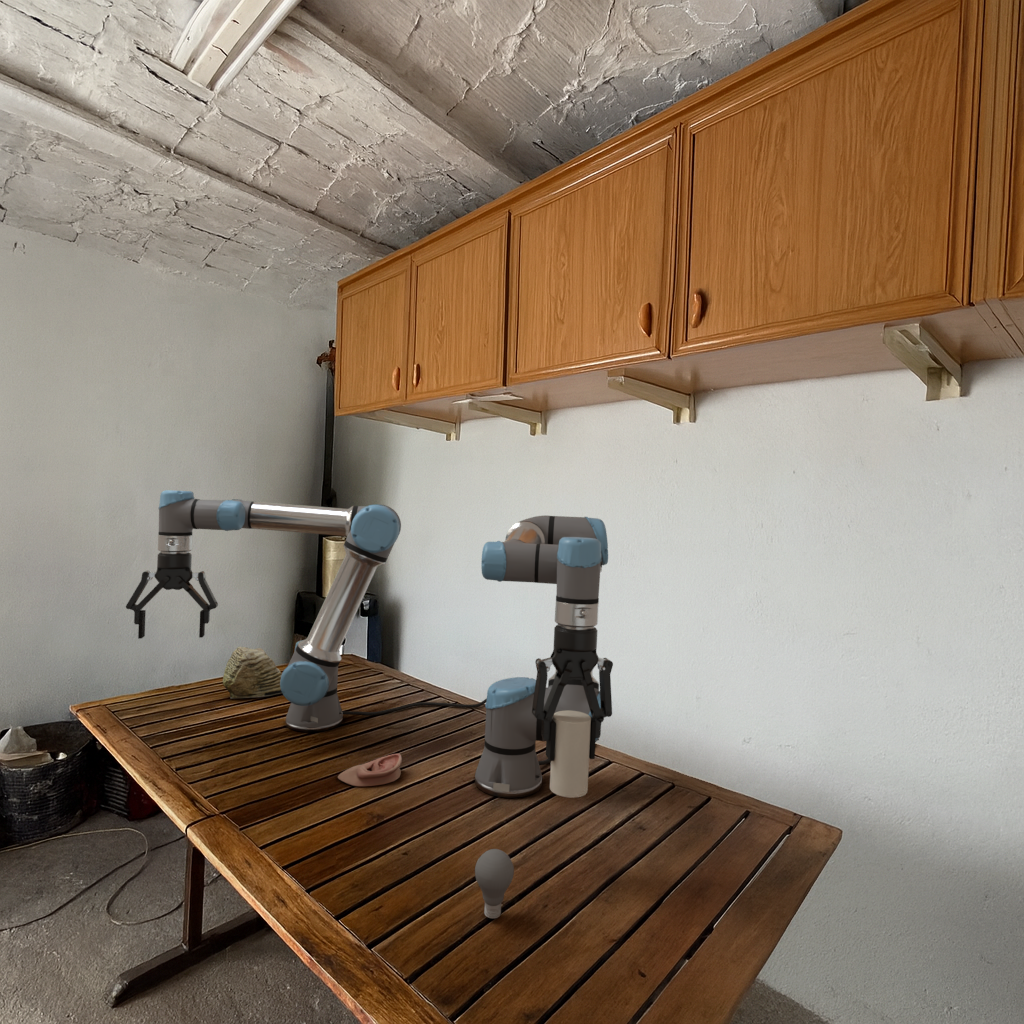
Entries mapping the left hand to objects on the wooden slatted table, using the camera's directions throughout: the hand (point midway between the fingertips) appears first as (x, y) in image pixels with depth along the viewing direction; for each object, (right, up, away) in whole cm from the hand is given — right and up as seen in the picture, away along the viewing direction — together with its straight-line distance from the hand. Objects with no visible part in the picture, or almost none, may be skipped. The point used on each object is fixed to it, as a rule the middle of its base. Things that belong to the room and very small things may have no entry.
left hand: (172, 637), depth 158 cm
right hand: (+95, -12, -47) cm, 107 cm away
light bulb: (+82, -31, -61) cm, 107 cm away
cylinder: (+95, -17, -47) cm, 108 cm away
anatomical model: (+53, -29, -14) cm, 62 cm away
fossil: (+4, -26, +40) cm, 48 cm away
